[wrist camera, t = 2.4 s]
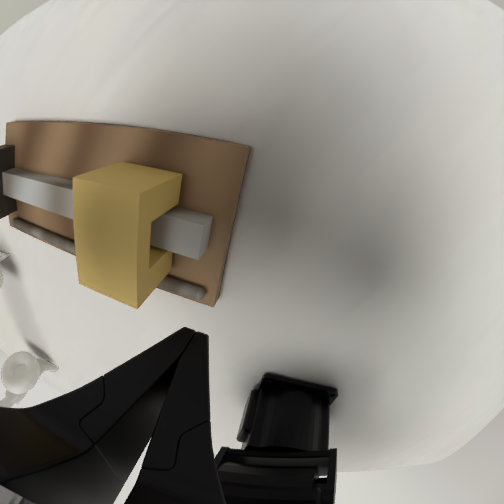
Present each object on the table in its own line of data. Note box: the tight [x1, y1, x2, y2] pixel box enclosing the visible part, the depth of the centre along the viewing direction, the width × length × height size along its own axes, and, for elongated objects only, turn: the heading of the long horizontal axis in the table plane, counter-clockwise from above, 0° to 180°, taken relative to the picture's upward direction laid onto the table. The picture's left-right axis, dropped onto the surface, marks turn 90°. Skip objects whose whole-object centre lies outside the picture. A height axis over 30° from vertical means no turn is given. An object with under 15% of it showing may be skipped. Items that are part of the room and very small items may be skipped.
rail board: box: [0, 121, 250, 307], centre depth 14 cm, size 22×10×6 cm, turn 77°
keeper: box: [73, 162, 182, 309], centre depth 14 cm, size 4×6×4 cm, turn 167°
